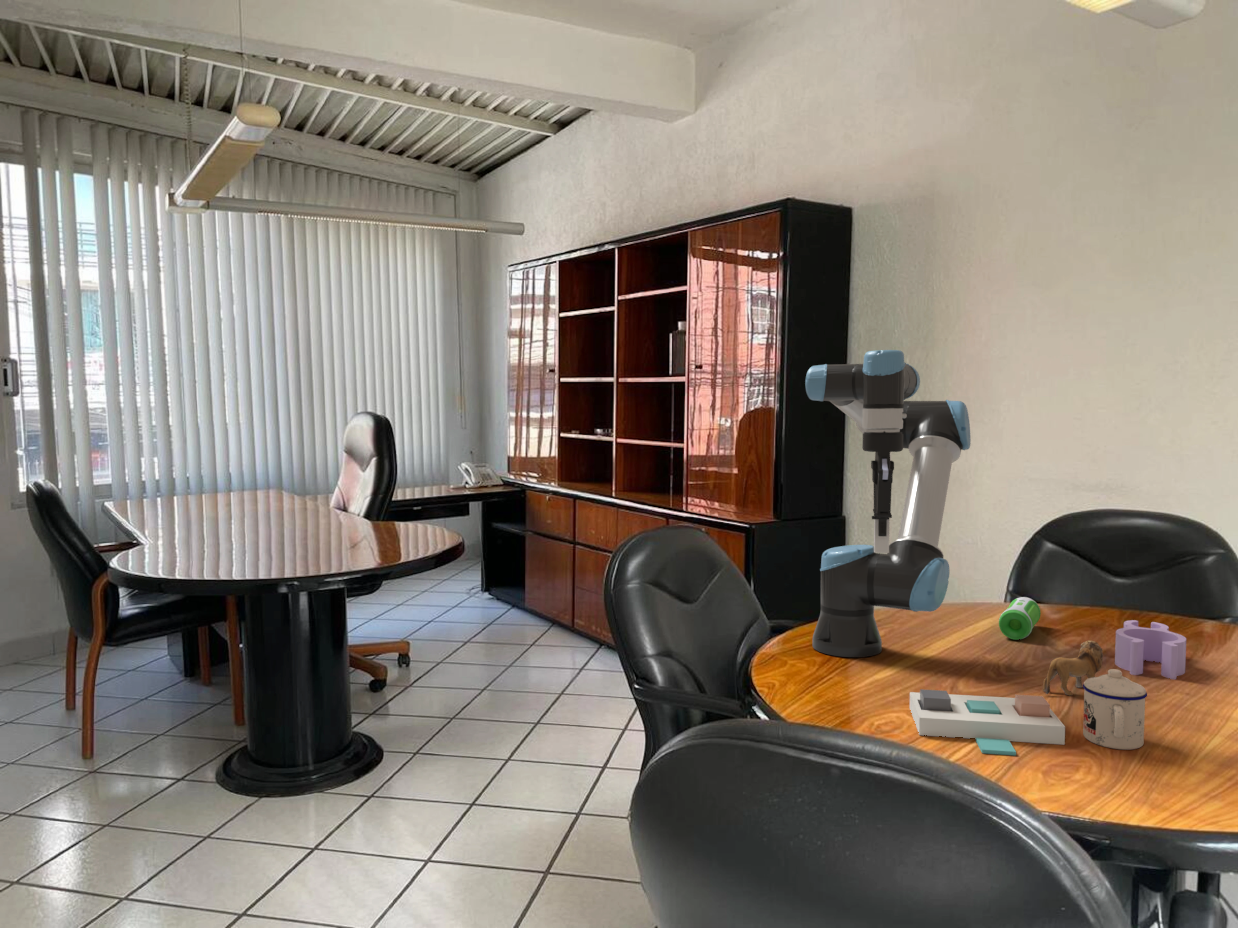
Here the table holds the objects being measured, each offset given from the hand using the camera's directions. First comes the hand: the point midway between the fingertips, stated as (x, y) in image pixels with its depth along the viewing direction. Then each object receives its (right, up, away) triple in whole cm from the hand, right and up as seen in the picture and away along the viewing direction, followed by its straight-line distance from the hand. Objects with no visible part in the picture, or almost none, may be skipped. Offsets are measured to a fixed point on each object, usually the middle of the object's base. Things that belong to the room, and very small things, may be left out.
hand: (881, 551), depth 169 cm
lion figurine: (+36, -27, -2) cm, 45 cm away
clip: (+61, -25, +14) cm, 67 cm away
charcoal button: (+4, -26, -18) cm, 32 cm away
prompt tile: (+9, -29, -30) cm, 42 cm away
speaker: (+45, -24, +39) cm, 64 cm away
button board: (+11, -28, -20) cm, 36 cm away
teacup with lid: (+29, -28, -28) cm, 49 cm away
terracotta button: (+19, -26, -22) cm, 39 cm away
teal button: (+11, -27, -20) cm, 36 cm away
